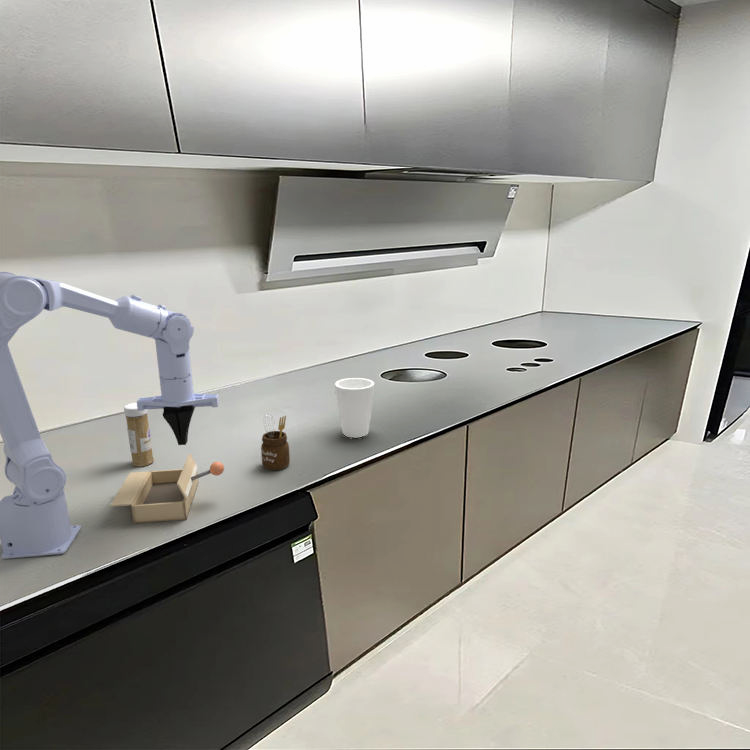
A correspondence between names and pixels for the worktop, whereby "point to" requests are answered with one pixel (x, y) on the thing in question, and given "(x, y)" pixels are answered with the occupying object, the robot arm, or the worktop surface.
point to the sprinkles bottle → (138, 435)
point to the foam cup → (354, 405)
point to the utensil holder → (275, 448)
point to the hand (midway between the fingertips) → (182, 443)
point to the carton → (155, 496)
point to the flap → (190, 471)
